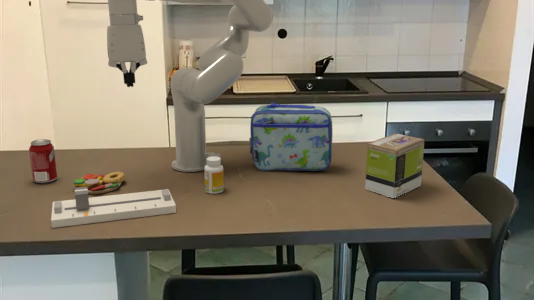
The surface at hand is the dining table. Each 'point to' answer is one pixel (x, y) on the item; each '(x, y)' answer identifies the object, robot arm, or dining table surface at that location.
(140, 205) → the console board
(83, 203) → the fader knob
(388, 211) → the dining table surface
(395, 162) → the tea box
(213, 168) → the supplement bottle
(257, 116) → the lunch box
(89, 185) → the toy food set
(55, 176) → the soda can
